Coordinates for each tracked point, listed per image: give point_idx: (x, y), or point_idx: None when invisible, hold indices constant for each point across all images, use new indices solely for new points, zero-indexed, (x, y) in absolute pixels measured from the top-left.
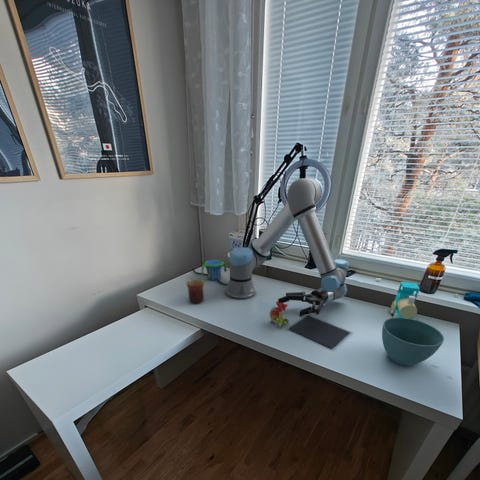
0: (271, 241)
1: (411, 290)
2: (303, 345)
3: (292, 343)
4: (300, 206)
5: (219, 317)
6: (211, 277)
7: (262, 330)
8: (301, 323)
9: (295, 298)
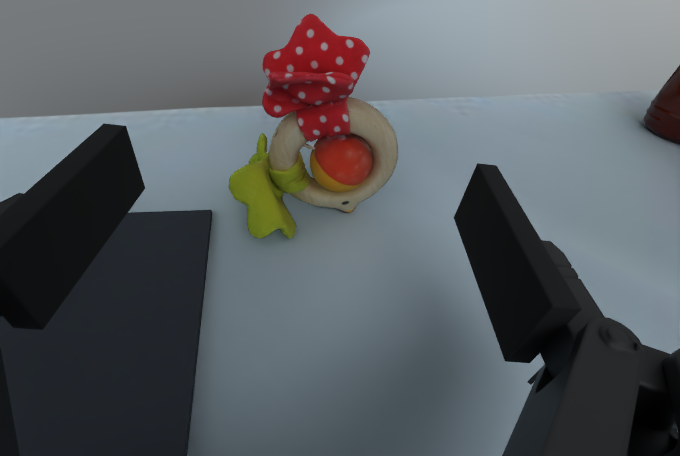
0: None
1: None
2: (39, 166)
3: None
4: None
5: (500, 119)
6: None
7: (312, 144)
8: (158, 320)
9: (517, 453)
